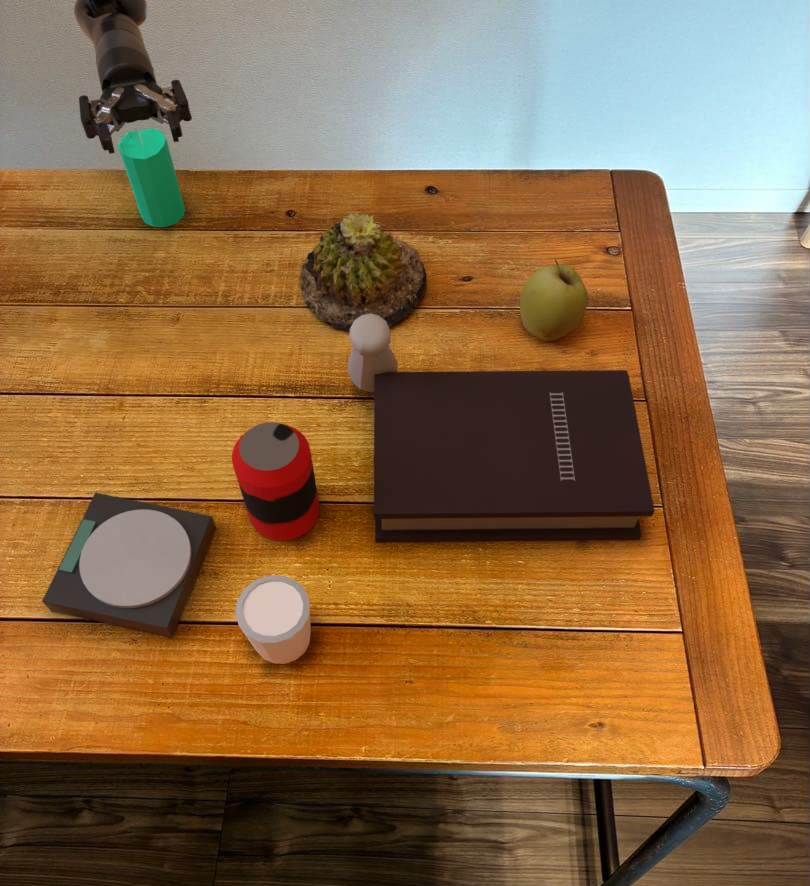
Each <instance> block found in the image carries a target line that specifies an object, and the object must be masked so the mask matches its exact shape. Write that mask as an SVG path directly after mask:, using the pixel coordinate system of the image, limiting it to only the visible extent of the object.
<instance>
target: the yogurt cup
mask: <svg viewBox="0 0 810 886" xmlns="http://www.w3.org/2000/svg"><path fill="white" fill-rule="evenodd" d="M234 614H235V618H236V622H237V623H238V627H239V628H240V630H241V631H242V632H243V634H244V636H245V637H246V639H247V640H248V641H249V643H250V644H251V645H252V646H253V648H254V650H255V651H256V652H257V654H258V655H259V656H260V657H261V658H262V659H263V660H265V661H267V662H269V663H272V664H278V665H280V664H281V665H285V664H288V663H291V662H294V661H296V660H298V659H299V658H300V657H302V656H303V655H304V654H305V653H306V651H307V649H308V647H309V645H310V643H311V601H310V599H309V595H308V592H307V590H306V589H305V588H304V587H303V585H301V584H300V583H299V582H298V581H297V580H295V579H293V578H291V577H288V576H286V575H277V574H276V575H274V574H273V575H272V574H270V575H266V576H263V577H260V578H256V579H254V581H253V582H251V583H250V584H248V585H247V586H246V587H244V589H243V590H242V592H241V594H240V595H239V596H238V598H237V600H236V606H235V612H234Z"/></svg>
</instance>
